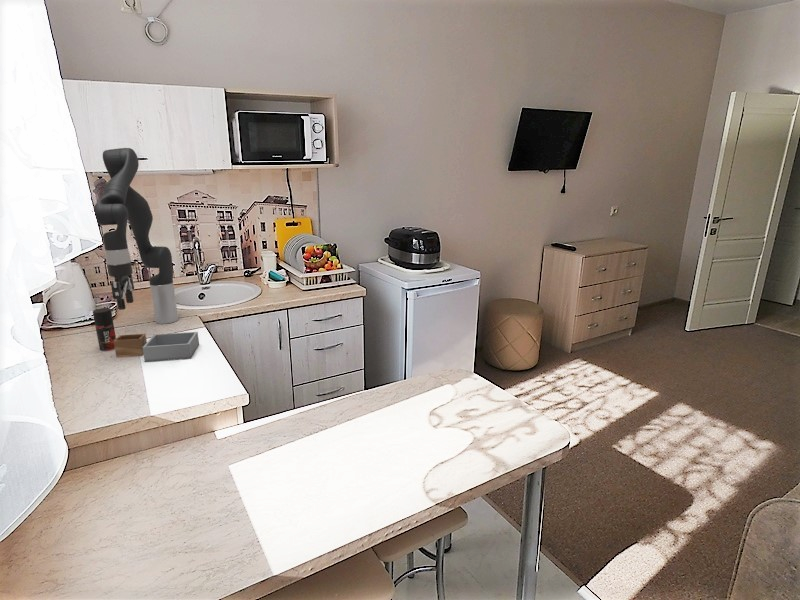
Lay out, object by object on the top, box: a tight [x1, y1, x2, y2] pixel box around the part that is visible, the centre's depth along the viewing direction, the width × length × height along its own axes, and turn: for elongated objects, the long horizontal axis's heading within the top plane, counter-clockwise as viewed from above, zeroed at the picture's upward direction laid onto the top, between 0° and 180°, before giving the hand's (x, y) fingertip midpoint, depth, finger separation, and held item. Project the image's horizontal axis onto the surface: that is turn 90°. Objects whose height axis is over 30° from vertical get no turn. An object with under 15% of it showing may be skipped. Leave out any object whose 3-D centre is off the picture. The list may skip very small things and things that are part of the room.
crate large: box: [142, 331, 200, 363], centre depth 184 cm, size 14×16×6 cm
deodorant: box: [92, 307, 117, 352], centre depth 189 cm, size 6×6×15 cm
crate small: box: [114, 333, 148, 358], centre depth 184 cm, size 6×9×6 cm, turn 100°
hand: (126, 306), depth 180 cm, fingers open, 8 cm apart
